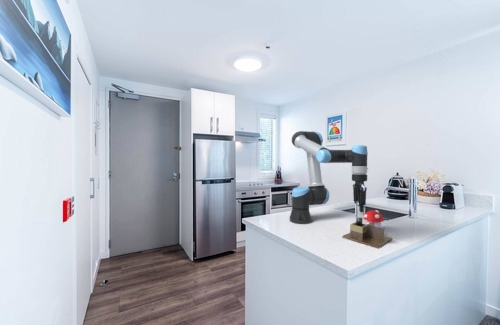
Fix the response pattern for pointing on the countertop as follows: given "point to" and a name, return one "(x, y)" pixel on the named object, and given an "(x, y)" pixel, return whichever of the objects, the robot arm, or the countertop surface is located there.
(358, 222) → the pin
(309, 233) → the countertop surface
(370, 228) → the square socket plate
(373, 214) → the mushroom
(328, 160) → the robot arm
